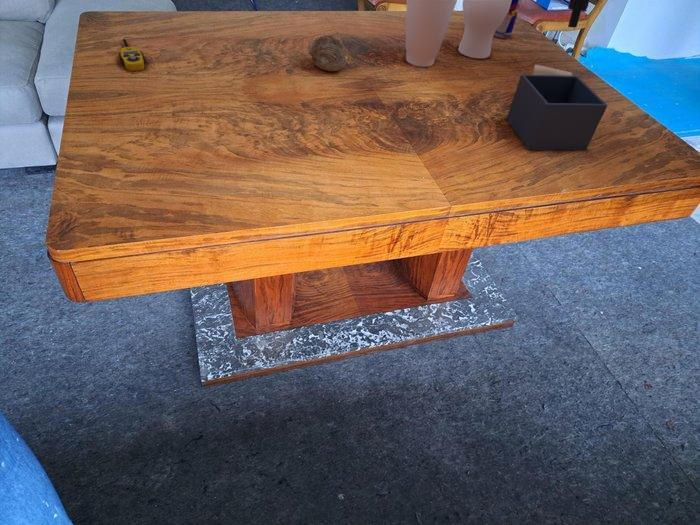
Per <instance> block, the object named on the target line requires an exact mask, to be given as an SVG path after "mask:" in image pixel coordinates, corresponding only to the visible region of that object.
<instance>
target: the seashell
mask: <svg viewBox="0 0 700 525" xmlns="http://www.w3.org/2000/svg"><path fill="white" fill-rule="evenodd" d="M307 50H308V53H309V55H310V56H311V62H312V63H313V64H314V65H315V66H316V67H317V68H318V69H321V70H323V71H328V72H338V71H340V70H342V69H343V68H344V67H345V65H346V63H347V58H346V55H345V52H344V48H343V44H342V43H341V41H339V39H337V38H335V37H333V36H332V35H326V36H325V35H324V36H320V37H318V38H316V39H315V40H314V41H313V42H312V43H311V44H309V45H308V46H307Z"/></svg>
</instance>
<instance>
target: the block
mask: <svg viewBox="0 0 700 525" xmlns="http://www.w3.org/2000/svg"><path fill="white" fill-rule="evenodd" d="M531 75H563V76H573V72H571V71H566V70H562V69H558V68H553V67H549V66H544V65H540V64H534V66H533V70H532V72H531Z"/></svg>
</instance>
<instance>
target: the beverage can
mask: <svg viewBox="0 0 700 525" xmlns="http://www.w3.org/2000/svg"><path fill="white" fill-rule="evenodd" d="M521 4H522V0H512V2H511V5H510V9H509V12H508V14H507V15H506V17H505V19H504V20H503V22H502V23H501V24H500V25H499V27H498V28H497V29H496V31H495V33H494V36H495V37H496V38H499V39H508V38H509V37H511V35H512V33H513V29H514V27H515V22H516V20H517V17H518V13H519V10H520V6H521Z"/></svg>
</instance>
